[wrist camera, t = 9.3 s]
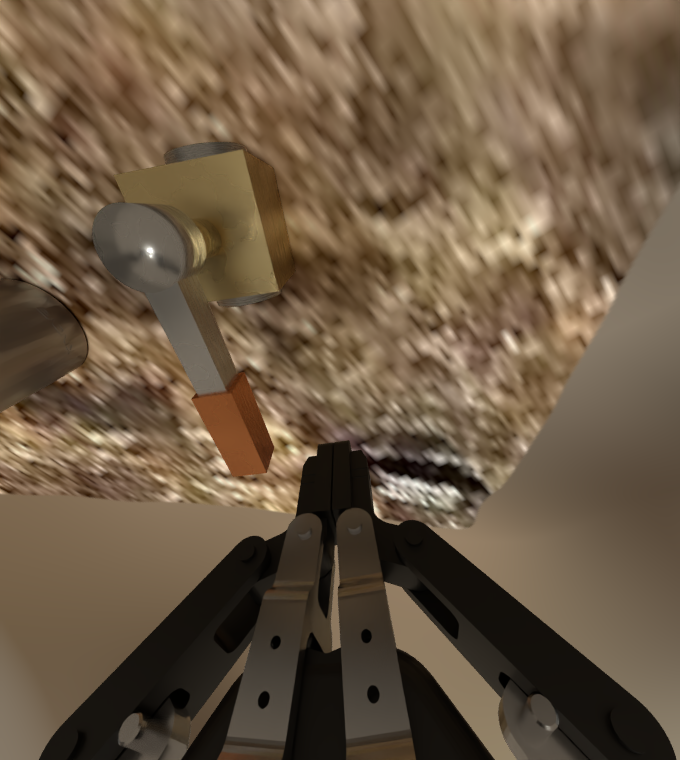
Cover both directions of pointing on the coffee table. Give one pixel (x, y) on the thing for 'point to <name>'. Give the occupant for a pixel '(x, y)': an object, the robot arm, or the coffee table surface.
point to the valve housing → (224, 217)
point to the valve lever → (185, 320)
